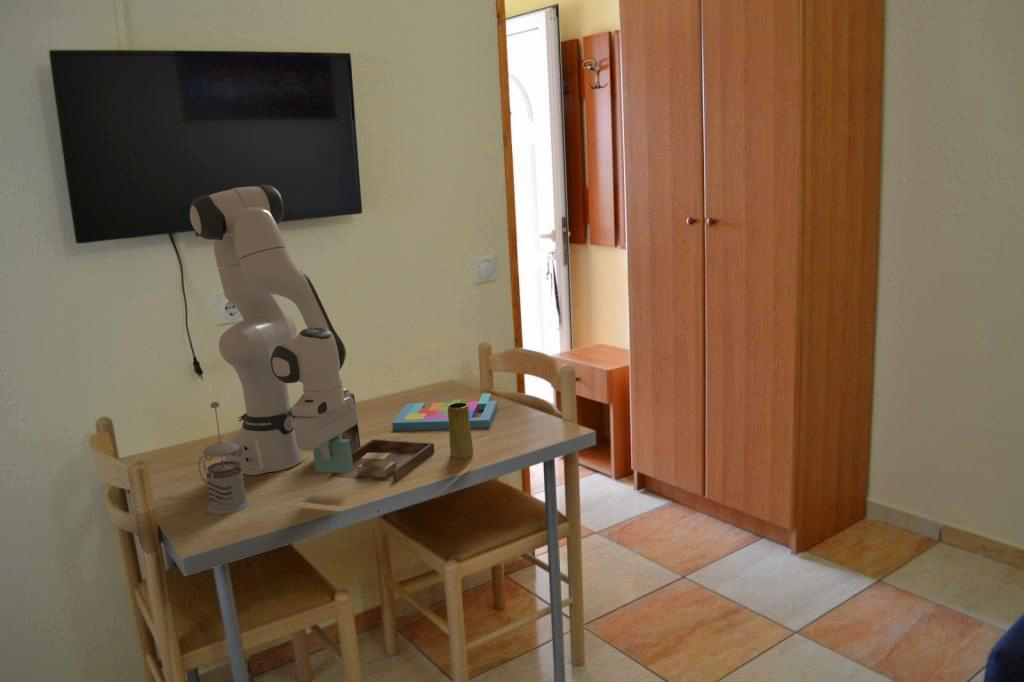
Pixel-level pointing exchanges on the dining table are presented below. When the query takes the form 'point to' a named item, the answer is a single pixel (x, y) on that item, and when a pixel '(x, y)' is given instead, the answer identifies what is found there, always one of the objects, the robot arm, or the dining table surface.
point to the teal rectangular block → (335, 457)
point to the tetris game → (443, 415)
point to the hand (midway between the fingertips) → (332, 455)
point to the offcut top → (376, 459)
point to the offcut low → (377, 470)
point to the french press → (224, 478)
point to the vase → (460, 431)
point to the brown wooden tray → (400, 452)
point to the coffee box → (352, 434)
